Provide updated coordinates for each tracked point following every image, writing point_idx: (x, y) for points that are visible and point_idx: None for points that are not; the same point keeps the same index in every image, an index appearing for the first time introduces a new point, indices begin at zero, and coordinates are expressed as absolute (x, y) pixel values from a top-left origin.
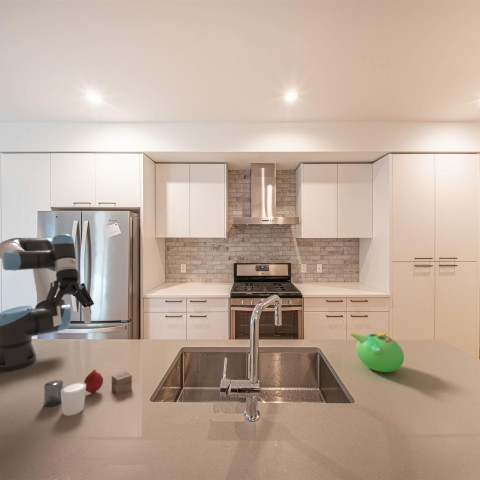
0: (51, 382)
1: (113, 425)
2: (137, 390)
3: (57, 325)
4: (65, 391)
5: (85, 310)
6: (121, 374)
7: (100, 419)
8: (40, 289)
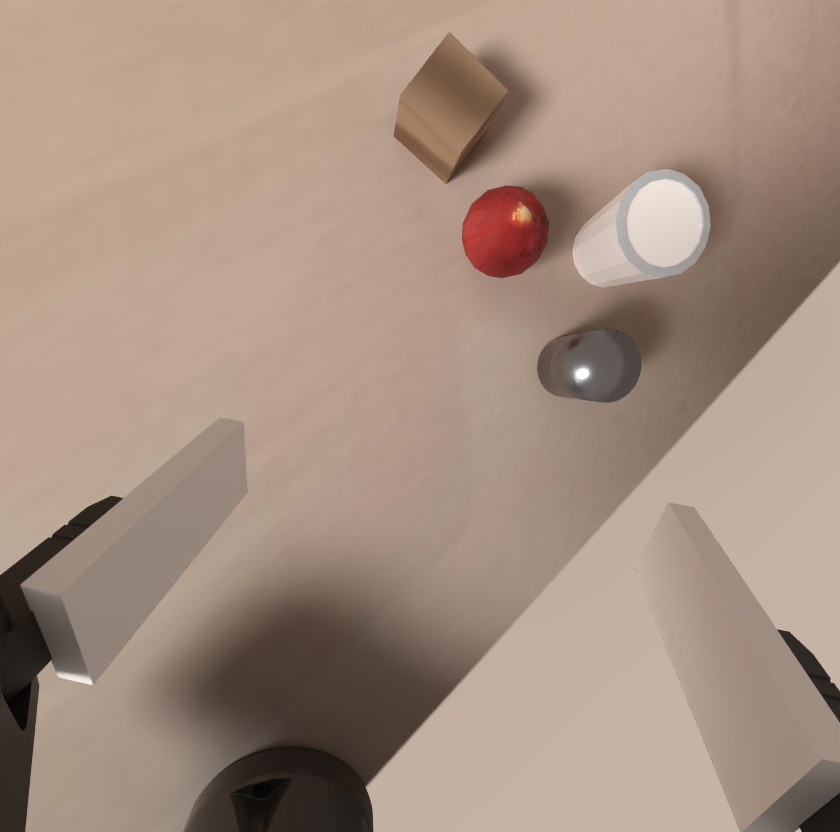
0: (597, 386)
1: (676, 40)
2: None
3: (651, 546)
4: (696, 238)
5: (126, 590)
6: (447, 98)
7: (648, 109)
8: None
